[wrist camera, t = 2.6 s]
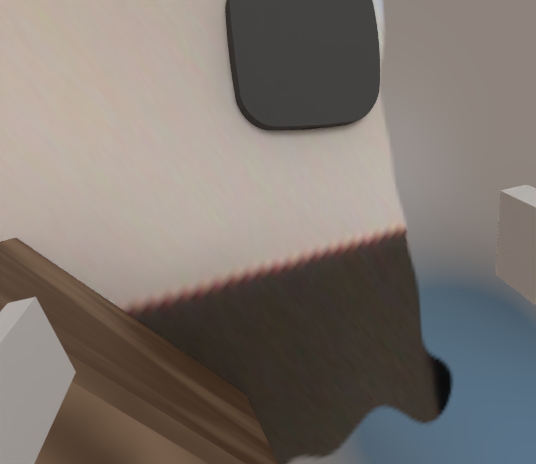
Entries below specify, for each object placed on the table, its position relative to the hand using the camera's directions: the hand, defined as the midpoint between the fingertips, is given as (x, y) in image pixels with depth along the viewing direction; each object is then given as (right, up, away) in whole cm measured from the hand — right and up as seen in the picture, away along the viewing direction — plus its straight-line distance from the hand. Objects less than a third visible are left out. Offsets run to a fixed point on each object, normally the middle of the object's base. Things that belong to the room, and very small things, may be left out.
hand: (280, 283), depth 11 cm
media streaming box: (+3, +19, +28) cm, 34 cm away
